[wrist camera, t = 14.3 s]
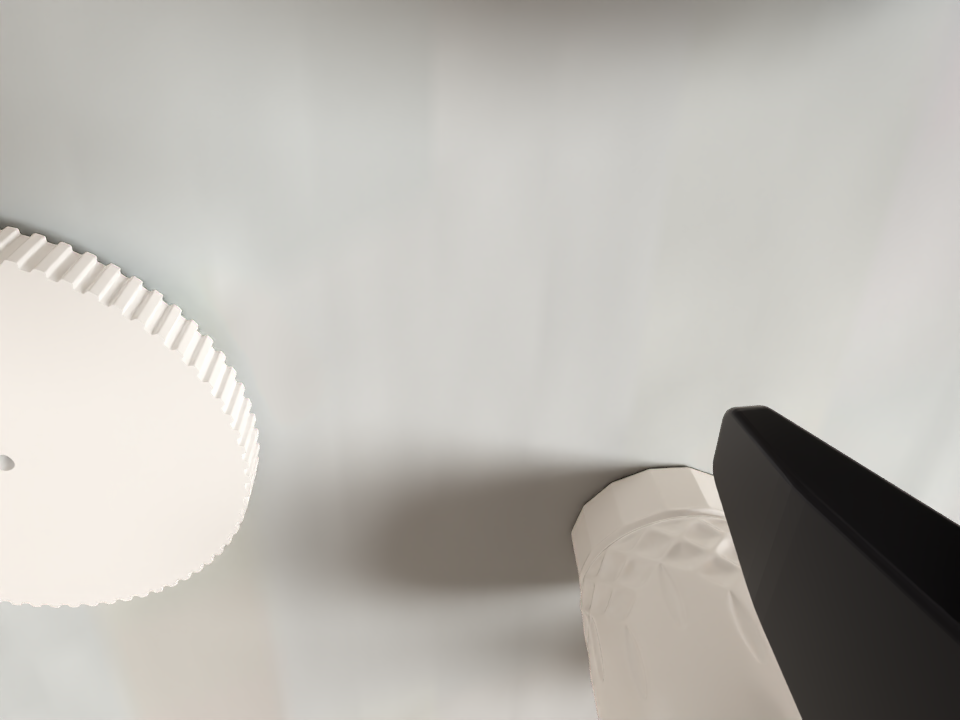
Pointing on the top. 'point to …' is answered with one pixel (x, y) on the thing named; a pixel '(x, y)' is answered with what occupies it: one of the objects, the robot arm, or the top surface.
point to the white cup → (671, 606)
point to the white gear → (110, 433)
